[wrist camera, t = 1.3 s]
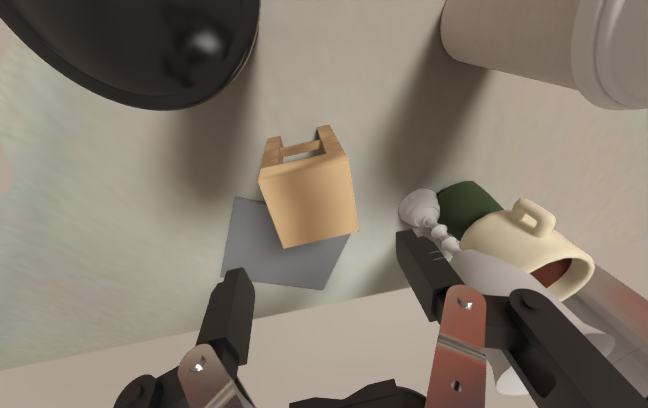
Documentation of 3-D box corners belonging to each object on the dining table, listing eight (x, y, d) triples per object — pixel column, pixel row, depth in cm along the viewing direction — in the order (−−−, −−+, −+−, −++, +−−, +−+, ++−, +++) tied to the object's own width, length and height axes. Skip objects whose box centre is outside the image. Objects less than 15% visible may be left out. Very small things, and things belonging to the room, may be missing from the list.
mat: (354, 222, 30) (355, 224, 29) (322, 287, 35) (322, 290, 35) (235, 196, 26) (234, 199, 26) (221, 274, 32) (220, 277, 31)
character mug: (471, 230, 33) (562, 319, 22) (420, 239, 33) (487, 333, 22) (493, 154, 27) (630, 224, 16) (431, 164, 27) (529, 242, 16)
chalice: (435, 229, 32) (565, 389, 17) (386, 231, 31) (477, 401, 16) (454, 179, 28) (644, 327, 13) (398, 179, 27) (534, 338, 12)
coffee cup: (406, 73, 22) (570, 105, 9) (449, -83, 17) (936, -483, 4) (498, 88, 23) (745, 132, 11) (562, -50, 18) (1150, -264, 6)
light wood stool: (329, 124, 23) (349, 160, 16) (338, 179, 26) (359, 231, 19) (267, 138, 23) (257, 181, 16) (285, 192, 26) (283, 248, 19)
